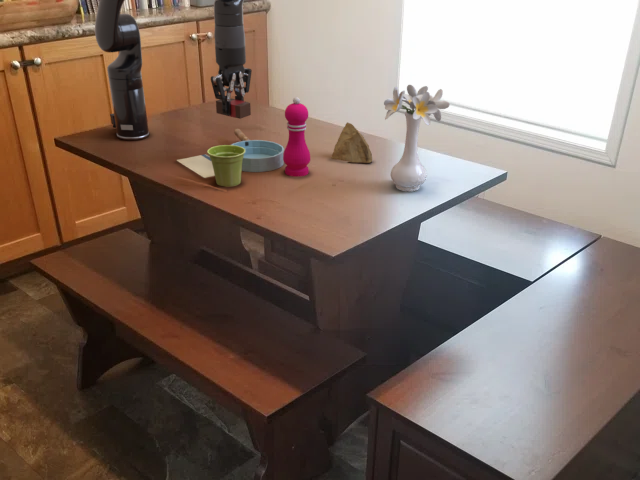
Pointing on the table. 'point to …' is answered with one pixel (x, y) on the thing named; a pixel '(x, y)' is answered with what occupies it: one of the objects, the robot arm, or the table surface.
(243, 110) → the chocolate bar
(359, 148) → the rock
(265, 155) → the pan
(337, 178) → the table surface
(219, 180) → the plant pot
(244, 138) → the pan handle
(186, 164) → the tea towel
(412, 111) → the flower vase
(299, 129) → the pepper mill
